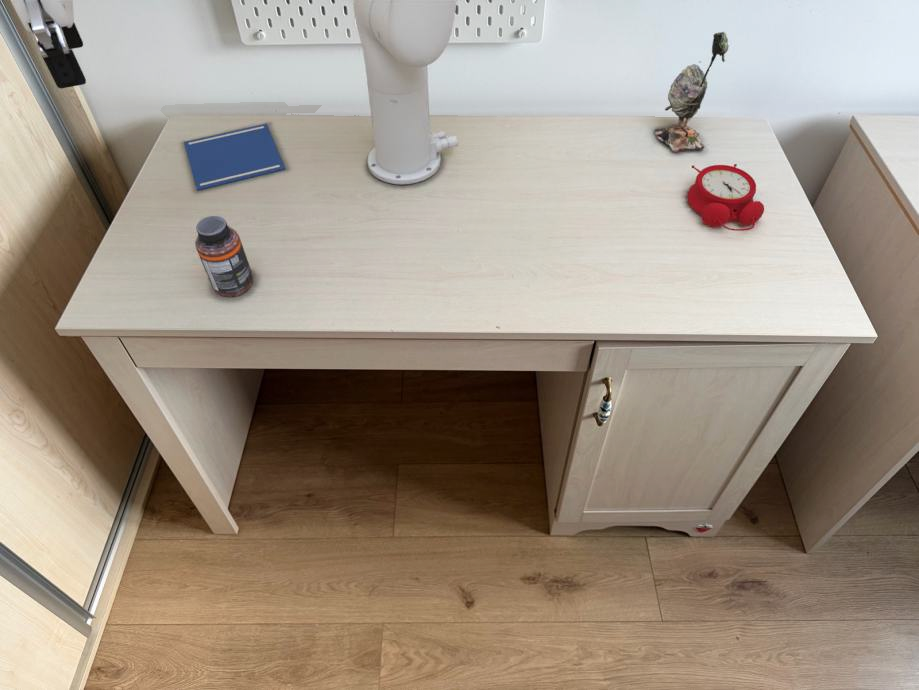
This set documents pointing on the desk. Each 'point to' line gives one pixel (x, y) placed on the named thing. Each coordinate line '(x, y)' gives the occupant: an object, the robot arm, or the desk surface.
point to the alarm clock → (725, 197)
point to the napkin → (233, 156)
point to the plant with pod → (689, 100)
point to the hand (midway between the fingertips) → (71, 66)
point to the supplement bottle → (223, 257)
